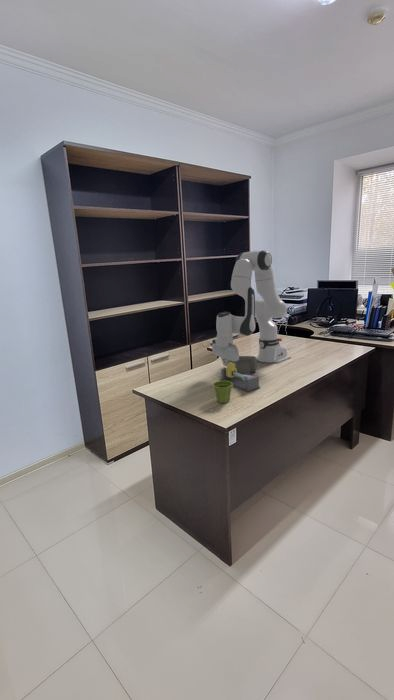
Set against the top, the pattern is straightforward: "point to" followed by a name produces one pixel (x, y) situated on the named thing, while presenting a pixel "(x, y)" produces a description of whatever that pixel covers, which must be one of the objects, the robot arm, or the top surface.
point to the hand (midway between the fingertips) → (225, 365)
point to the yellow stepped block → (230, 369)
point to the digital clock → (245, 365)
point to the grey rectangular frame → (241, 381)
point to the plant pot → (223, 391)
